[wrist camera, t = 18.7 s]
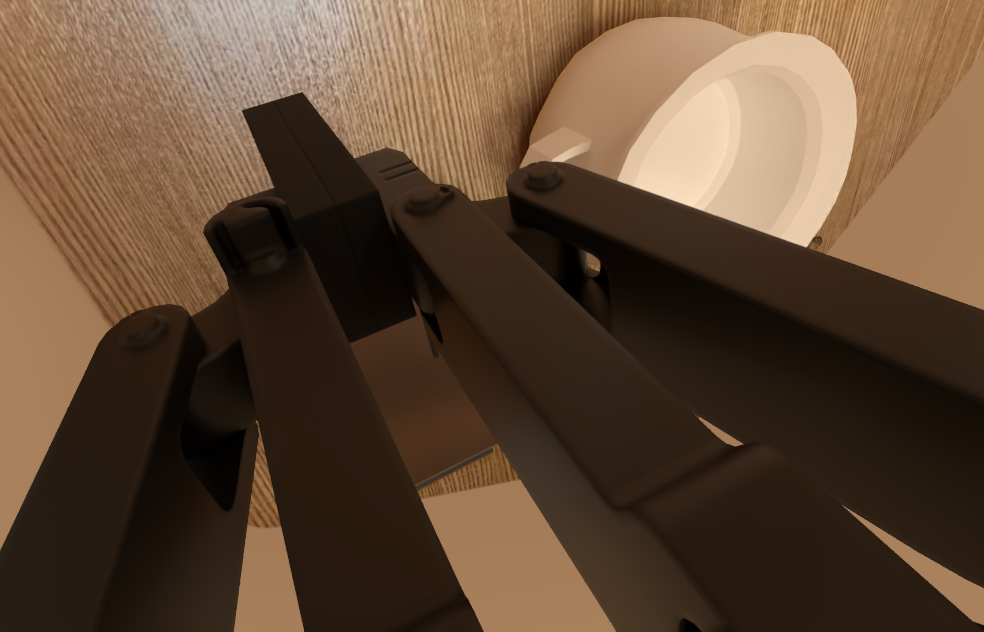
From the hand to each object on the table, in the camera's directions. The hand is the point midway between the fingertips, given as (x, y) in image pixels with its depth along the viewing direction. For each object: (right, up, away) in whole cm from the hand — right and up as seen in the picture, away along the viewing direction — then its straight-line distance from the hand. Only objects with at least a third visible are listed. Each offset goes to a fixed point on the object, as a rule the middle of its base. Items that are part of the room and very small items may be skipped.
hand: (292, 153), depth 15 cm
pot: (+14, +9, +29) cm, 33 cm away
